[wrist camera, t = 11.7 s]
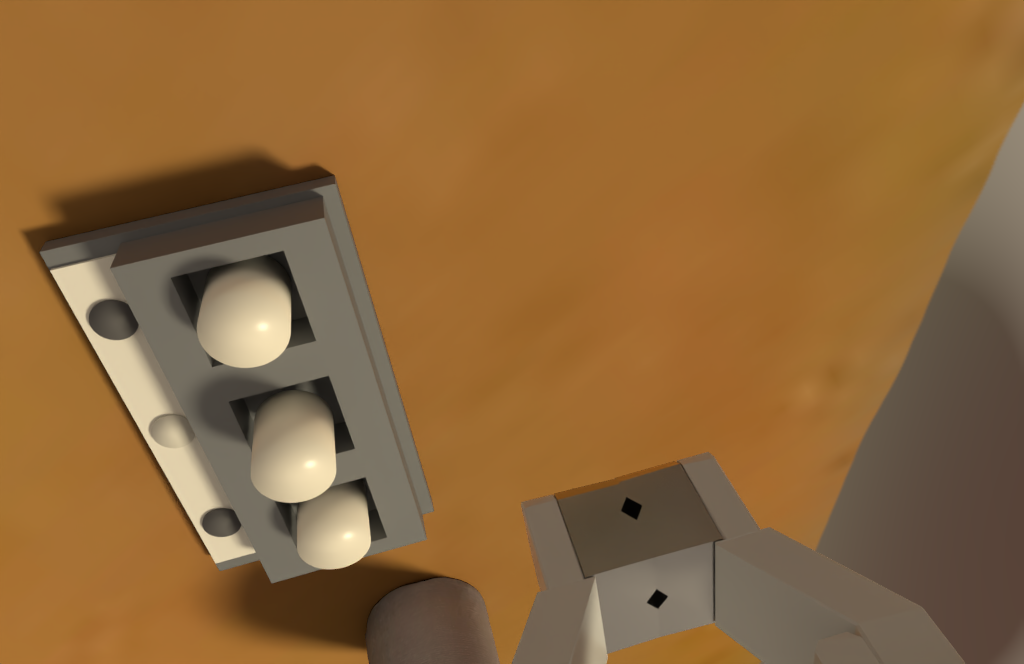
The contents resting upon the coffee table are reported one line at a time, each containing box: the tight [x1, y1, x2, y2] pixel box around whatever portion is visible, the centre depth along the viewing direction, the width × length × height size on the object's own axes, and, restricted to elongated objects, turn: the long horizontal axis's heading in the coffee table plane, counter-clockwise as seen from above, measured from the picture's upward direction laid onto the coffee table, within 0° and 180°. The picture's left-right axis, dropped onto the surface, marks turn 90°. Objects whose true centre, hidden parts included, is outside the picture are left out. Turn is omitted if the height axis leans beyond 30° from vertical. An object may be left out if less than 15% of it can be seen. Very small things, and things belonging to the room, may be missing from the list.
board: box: [40, 175, 434, 583], centre depth 46 cm, size 15×25×4 cm, turn 9°
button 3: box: [297, 479, 371, 569], centre depth 49 cm, size 4×4×4 cm
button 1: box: [197, 255, 291, 368], centre depth 40 cm, size 4×4×4 cm
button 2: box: [251, 390, 336, 503], centre depth 43 cm, size 4×4×4 cm
